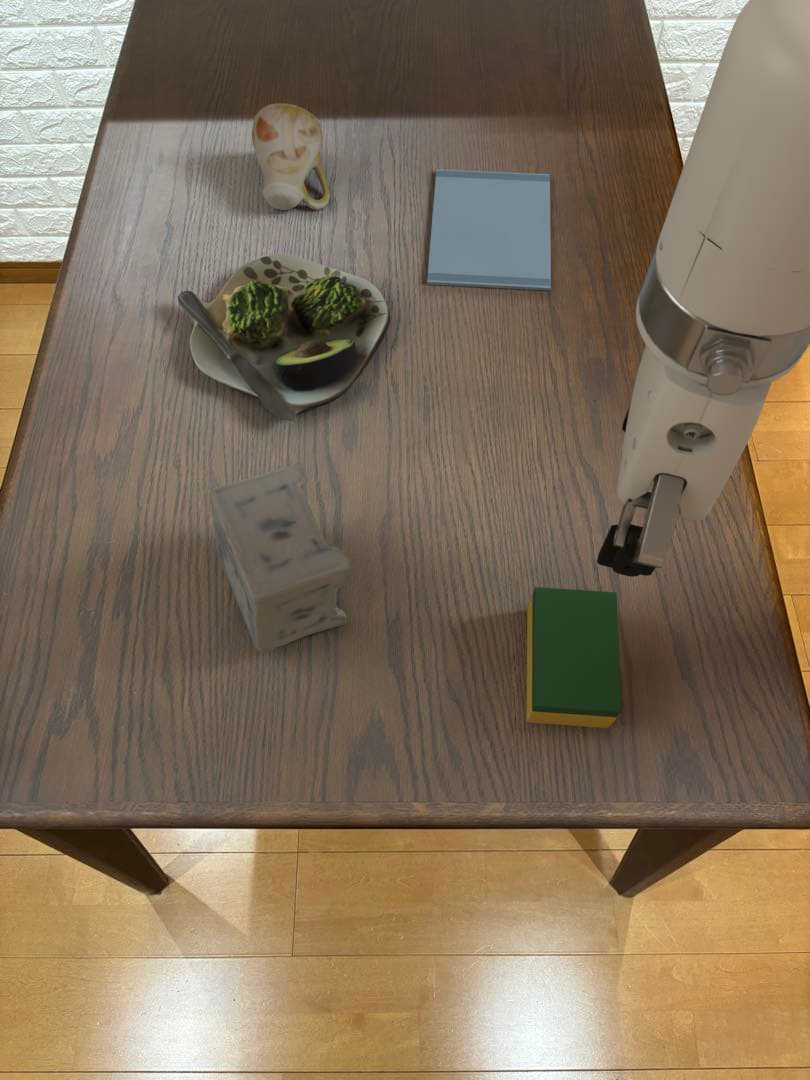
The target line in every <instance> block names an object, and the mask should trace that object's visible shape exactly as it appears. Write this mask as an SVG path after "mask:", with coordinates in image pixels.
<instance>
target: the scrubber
mask: <svg viewBox="0 0 810 1080" xmlns="http://www.w3.org/2000/svg"><path fill="white" fill-rule="evenodd" d="M617 596H618V595H617V592H616V591H603V590H602V591H601V590H587V589H573V588H572V589H570V588H554V587H539V586H535V587H534V589H533V592H532V595H531V598H530V601H529V604H528V606H527V610H526V723H527V724H528V723H529V724H541V725H542V724H544V725H557V726H558V725H559V726H570V727H571V726H572V727H583V728H584V727H585V728H599V729H609V728H610V727H611V725H612V724H613V723H615V721H616V720H617V718H618V717H619V716H620V715H621V713H622V712H623V709H622V708H623V707H622V706H623V705H622V685H621V684H622V683H621V668H620V667H621V662H620V641H619V640H620V639H619V619H618V599H617V598H618V597H617Z"/></svg>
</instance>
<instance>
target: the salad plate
mask: <svg viewBox="0 0 810 1080" xmlns="http://www.w3.org/2000/svg"><path fill="white" fill-rule="evenodd" d="M177 302H178V304H179V307H181V309H183V311H185V313H186V314H187V315H188V317H189V318H190V319H191V321H192V324H193V325H192V326H193V327H192V330H191V334H190V338H189V347H190V352H191V355H192V358H193V361H194V364H195V365H196V367H197V368H198V369H199V370H200V371H201V372H202V373H203V374H204V375H205V376H208V377H210V378H211V379H213V380H214V381H216V382H218V383H220V384H222V385H224V386H226V387H229V388H232V389H235V390H238V391H241V392H242V393H245V394H247V395H251V396H254V397H256V398H257V399H259V402H260V403H261V404H262V405H263V406H264V407H265V408H266V409H267V410H268V411H269V412H270V413H271V414H273V415H274V416H276V417H277V418H278V419H279V420H282V421H291V422H296V419H297V416H298V414H299V413H301V412H304V411H306V410H311V409H314V408H319V407H322V406H325V405H327V404H330V403H332V402H334V401H336V400H338V399H339V398H341V397H342V396H343V395H344V394H345V393H346V392H347V391H348V390H349V389H350V388H351V387H352V386H353V385H354V383H355V382H356V381H357V380H358V378H360V377H361V375H362V374H363V372H364V370H365V369H366V367H367V366H368V364H369V363H370V362H371V360H372V359H373V357H374V355H375V354H376V351H377V350H378V348H379V347H380V345H381V344H382V342H383V340H384V339H385V336H386V333H387V331H388V329H389V327H390V324H391V313H390V308H389V307H388V303H387V301H386V299H385V297H384V296H383V294H382V292H381V291H380V289H379V288H378V287H377V286H376V285H375V284H374V283H373V282H371V281H368V280H367V279H365V278H363V277H360V276H357V275H354V274H352V273H349V272H345V271H342V270H340V269H335V268H331V267H330V266H327V265H323V264H320V263H318V262H315V261H314V260H309V259H306V258H303V257H301V256H296V255H294V254H289V253H271V254H266V255H262V256H259V257H256V258H253V259H250V260H248V261H247V262H245V263H243V264H241V265H240V266H239V267H238V268H237V269H236V270H235V271H234V272H233V274H231V276H230V277H229V279H228V280H227V282H226V283H225V284H224V285H223V287H222V288H221V290H220V291H219V293H218V294H217V295H216V296H215V297H214V299H212V300H210V301H208V302H205V301H203V300H202V299H200V298H199V296H198V295H197V294H196V293H195V292H194V291H191V290H184V291H182V292H181V293H180V294H178V296H177Z"/></svg>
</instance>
